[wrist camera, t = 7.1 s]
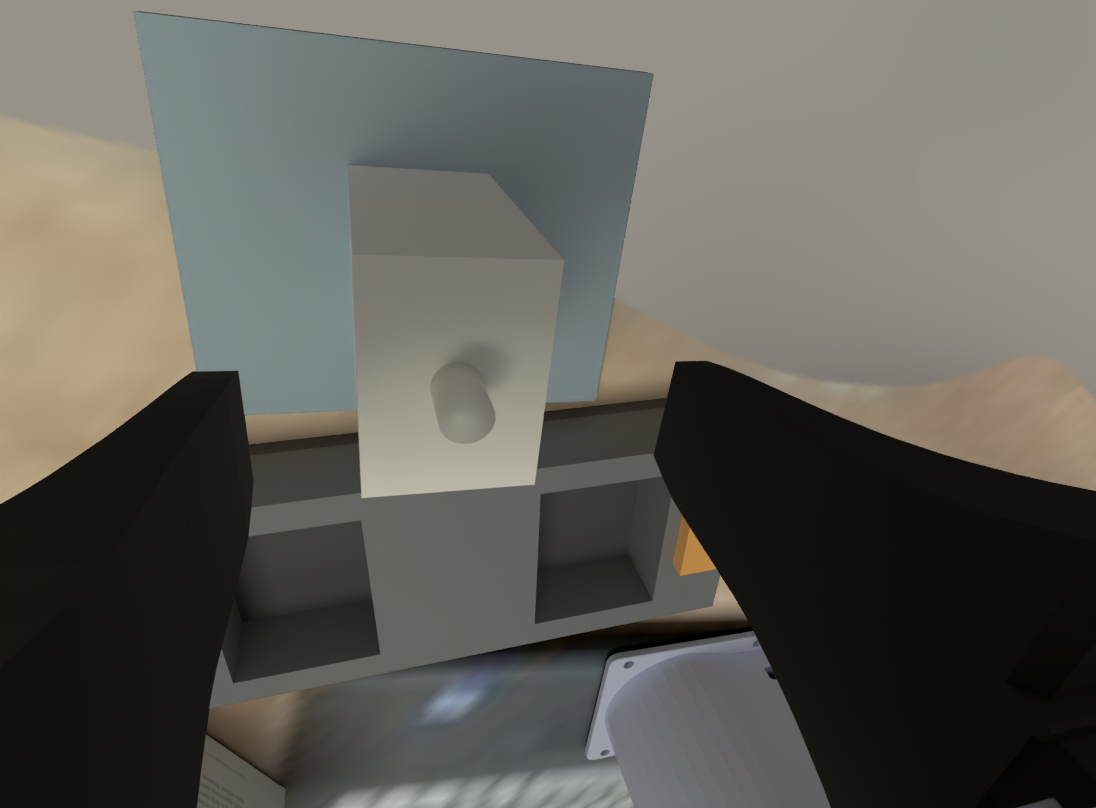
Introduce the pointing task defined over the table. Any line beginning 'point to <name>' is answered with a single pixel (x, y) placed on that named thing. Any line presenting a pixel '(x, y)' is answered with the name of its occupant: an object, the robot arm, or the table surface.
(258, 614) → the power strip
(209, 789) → the small box
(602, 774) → the table surface
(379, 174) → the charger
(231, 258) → the mat
